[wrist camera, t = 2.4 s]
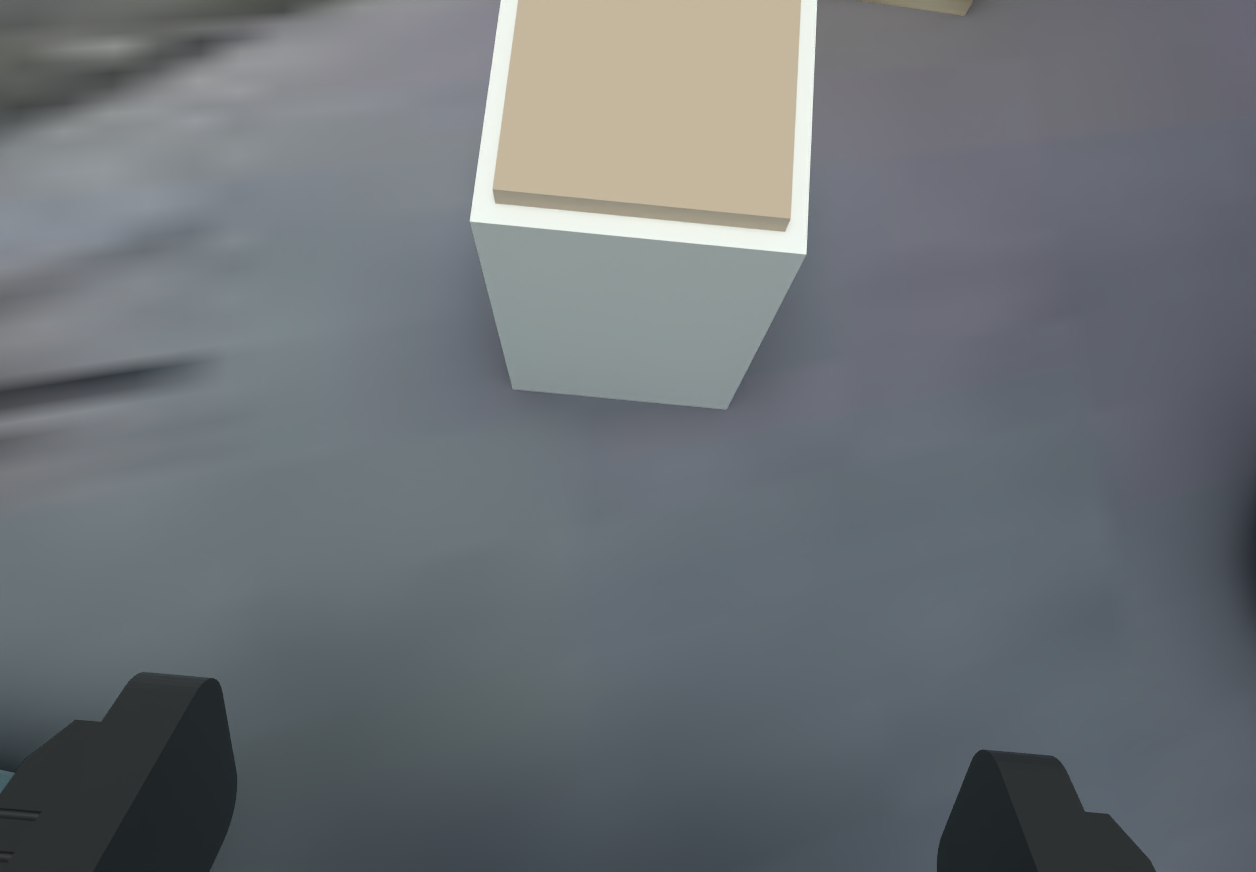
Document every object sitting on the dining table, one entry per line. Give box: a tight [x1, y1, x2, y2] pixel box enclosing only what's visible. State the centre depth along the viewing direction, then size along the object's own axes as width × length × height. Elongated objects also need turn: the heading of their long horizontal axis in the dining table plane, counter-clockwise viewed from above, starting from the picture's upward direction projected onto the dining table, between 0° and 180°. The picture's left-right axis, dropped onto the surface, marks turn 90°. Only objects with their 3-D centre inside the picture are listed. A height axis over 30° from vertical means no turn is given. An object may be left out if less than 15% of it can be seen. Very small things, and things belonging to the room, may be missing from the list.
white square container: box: [470, 0, 817, 410], centre depth 22 cm, size 6×6×10 cm
